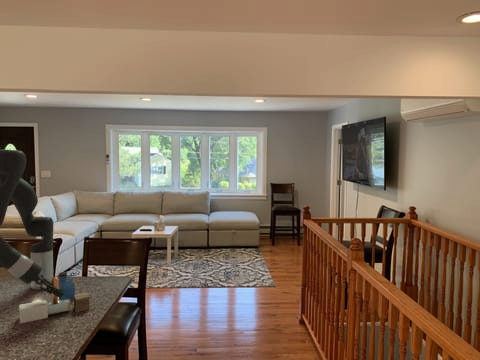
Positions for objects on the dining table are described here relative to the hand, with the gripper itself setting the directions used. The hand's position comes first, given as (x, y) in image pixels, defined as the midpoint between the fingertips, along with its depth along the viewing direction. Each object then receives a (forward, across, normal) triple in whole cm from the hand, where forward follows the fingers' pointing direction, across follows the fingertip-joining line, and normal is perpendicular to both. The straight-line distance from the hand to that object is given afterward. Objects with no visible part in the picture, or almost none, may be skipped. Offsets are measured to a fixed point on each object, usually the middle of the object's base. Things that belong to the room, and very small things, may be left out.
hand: (61, 294), depth 143 cm
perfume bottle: (+7, +13, +4) cm, 15 cm away
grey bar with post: (+1, 0, +8) cm, 8 cm away
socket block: (+10, 0, 0) cm, 10 cm away
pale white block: (-2, 0, +12) cm, 12 cm away
